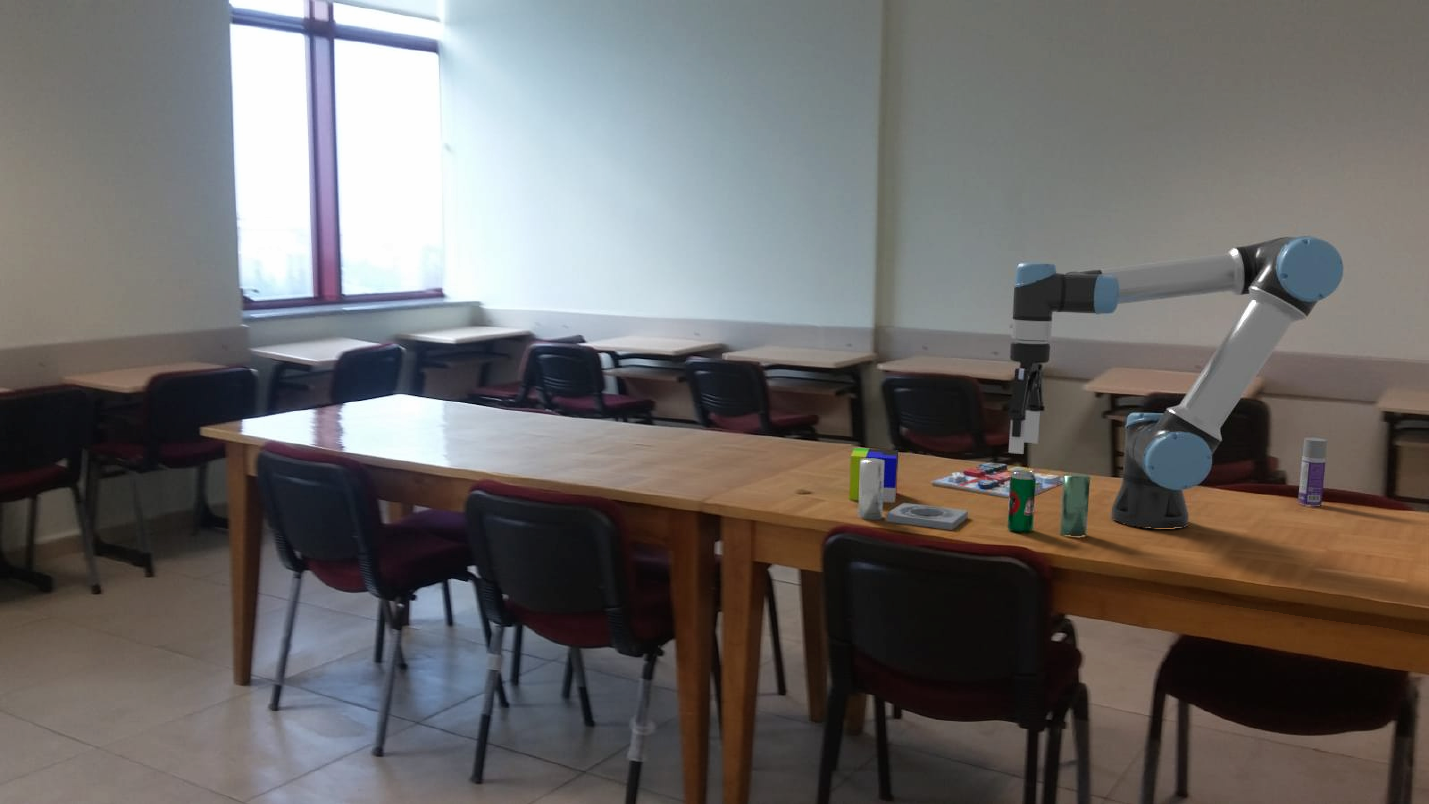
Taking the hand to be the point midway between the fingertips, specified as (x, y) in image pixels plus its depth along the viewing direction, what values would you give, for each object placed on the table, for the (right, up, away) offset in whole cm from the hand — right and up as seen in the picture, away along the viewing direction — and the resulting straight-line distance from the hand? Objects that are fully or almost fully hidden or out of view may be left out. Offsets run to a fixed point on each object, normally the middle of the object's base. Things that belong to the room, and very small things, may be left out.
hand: (1023, 447), depth 228 cm
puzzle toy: (-26, -12, +31) cm, 42 cm away
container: (+73, -14, +30) cm, 80 cm away
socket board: (-17, -15, +10) cm, 25 cm away
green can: (+10, -17, 0) cm, 20 cm away
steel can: (-29, -15, +12) cm, 35 cm away
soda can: (0, -17, +2) cm, 17 cm away
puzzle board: (+8, -11, +48) cm, 50 cm away
